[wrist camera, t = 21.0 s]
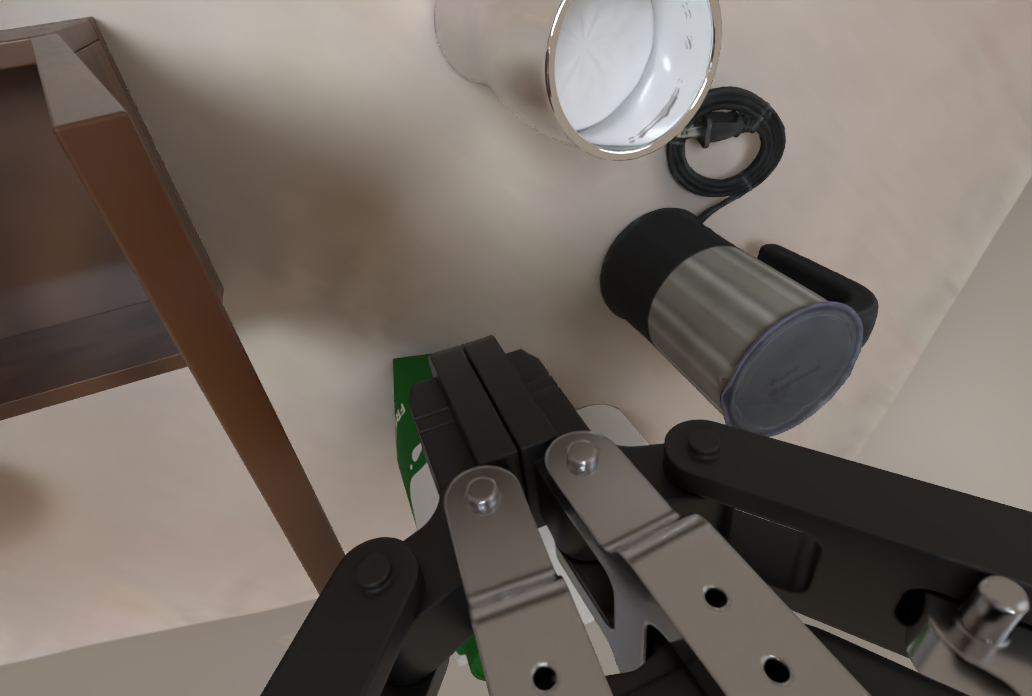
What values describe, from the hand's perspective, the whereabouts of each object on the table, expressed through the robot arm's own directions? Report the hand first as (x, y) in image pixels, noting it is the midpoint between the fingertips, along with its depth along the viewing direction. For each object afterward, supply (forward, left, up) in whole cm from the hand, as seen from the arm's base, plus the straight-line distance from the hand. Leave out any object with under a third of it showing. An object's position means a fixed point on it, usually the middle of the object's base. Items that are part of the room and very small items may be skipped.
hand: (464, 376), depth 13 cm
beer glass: (+9, +4, -23) cm, 25 cm away
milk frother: (+21, -10, -23) cm, 33 cm away
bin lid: (-7, 0, -7) cm, 9 cm away
